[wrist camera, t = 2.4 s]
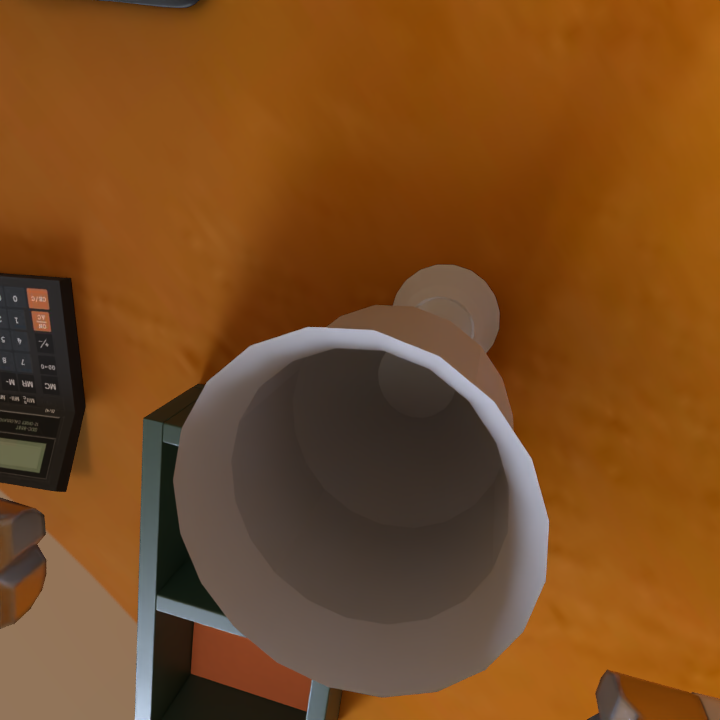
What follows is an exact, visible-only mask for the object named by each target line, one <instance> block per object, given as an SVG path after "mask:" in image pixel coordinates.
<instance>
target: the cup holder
mask: <svg viewBox="0 0 720 720" xmlns="http://www.w3.org/2000/svg"><path fill="white" fill-rule="evenodd" d="M204 387H205V385H201V384H197V385H196V386H194V387H192V388H190V389H189V390H187V391H186V392H184V393H182V394H181V395H179V396H178V397H176V398H175V399H173V400H171V401H170V402H168V403H167V404H165V405H163V406H162V407H160V408H159V409H157V410H156V411H154V412H152V413H151V414H149V415H148V416H146V417H144V419H143V452H142V487H141V522H140V558H139V593H138V629H137V663H136V665H137V667H136V698H135V720H337V719H338V714H339V708H340V702H341V696H342V690H341V689H336V688H331V687H327V686H325V685H323V684H320V683H318V682H316V681H314V680H312V679H310V678H308V677H306V676H304V675H302V674H300V673H298V672H296V671H294V670H292V669H289V668H287V667H285V666H283V665H281V664H279V663H277V662H276V661H275V660H273V659H272V658H271V657H270V656H269V655H267V654H266V653H265V652H264V651H263V650H261V649H260V648H259V647H258V646H256V645H255V644H254V643H253V642H252V641H250V640H249V639H248V638H247V637H246V636H244V635H243V634H242V633H241V632H240V631H238V630H237V629H236V628H235V627H234V626H233V625H232V624H231V622H230V621H229V620H228V618H227V617H226V615H225V614H224V613H223V611H222V610H221V609H220V607H219V606H218V605H217V603H216V602H215V601H214V599H213V598H212V597H211V595H210V594H209V593H208V591H207V590H206V589H205V587H204V586H203V585H202V583H201V581H200V579H199V577H198V574H197V572H196V570H195V567H194V565H193V562H192V560H191V558H190V555H189V553H188V551H187V548H186V546H185V543H184V541H183V539H182V536H181V534H180V528H179V521H178V514H177V506H176V499H175V492H174V484H173V478H174V471H175V465H176V459H177V453H178V447H179V441H180V435H181V429H182V427H183V425H184V423H185V421H186V419H187V418H188V416H189V414H190V412H191V410H192V408H193V407H194V405H195V403H196V401H197V399H198V398H199V396H200V394H201V392H202V390H203V388H204Z"/></svg>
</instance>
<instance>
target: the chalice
mask: <svg viewBox="0 0 720 720" xmlns="http://www.w3.org/2000/svg"><path fill="white" fill-rule="evenodd" d="M499 318H500V311H499V308H498V304H497V301H496V297H495V295H494V293H493V292H492V290H491V289H490V288H489V286H488V285H487V283H486V282H485V281H484V280H483V279H482V278H480V277H479V276H478V275H476V274H475V273H474V272H472V271H471V270H468V269H465V268H462V267H459V266H456V265H434V266H431V267H428V268H425V269H422V270H419V271H418V272H417V273H415V274H414V275H413V276H411V277H410V278H408V279H407V280H406V281H405V283H404V284H403V285H402V287H401V288H400V290H399V291H398V292H397V294H396V297H395V300H394V303H393V306H389V305H374V306H370V307H367V308H364V309H361V310H358V311H355V312H352V313H349V314H346V315H343V316H340V317H339V318H337V319H336V320H335V321H334V322H332V323H331V324H330V325H328V326H327V327H326V328H320V327H306V328H303V329H300V330H297V331H294V332H291V333H288V334H285V335H282V336H279V337H275V338H272V339H269V340H266V341H263V342H260V343H257V344H254V345H251V346H249V347H248V348H247V349H246V350H244V351H243V352H242V353H241V354H240V355H239V356H237V357H236V358H235V359H234V360H233V361H231V362H230V363H229V364H228V365H227V366H225V367H224V368H223V369H222V370H221V371H219V372H218V373H217V374H216V375H215V376H213V377H212V378H211V379H210V380H209V381H207V383H206V385H205V387H204V388H203V390H202V392H201V394H200V396H199V398H198V399H197V401H196V403H195V405H194V407H193V408H192V410H191V412H190V414H189V416H188V418H187V419H186V421H185V423H184V425H183V427H182V429H181V435H180V441H179V447H178V453H177V459H176V465H175V471H174V478H173V484H174V492H175V499H176V506H177V514H178V521H179V528H180V534H181V536H182V539H183V541H184V543H185V546H186V548H187V551H188V553H189V555H190V558H191V560H192V562H193V565H194V567H195V570H196V572H197V574H198V577H199V579H200V581H201V583H202V585H203V586H204V587H205V589H206V590H207V591H208V593H209V594H210V595H211V597H212V598H213V599H214V601H215V602H216V603H217V605H218V606H219V607H220V609H221V610H222V611H223V613H224V614H225V615H226V617H227V618H228V620H229V621H230V622H231V624H232V625H233V626H234V627H235V628H236V629H237V630H238V631H240V632H241V633H242V634H243V635H244V636H246V637H247V638H248V639H249V640H250V641H252V642H253V643H254V644H255V645H256V646H258V647H259V648H260V649H261V650H263V651H264V652H265V653H266V654H267V655H269V656H270V657H271V658H272V659H273V660H275V661H276V662H277V663H279V664H281V665H283V666H285V667H287V668H289V669H292V670H294V671H296V672H298V673H300V674H302V675H304V676H306V677H308V678H310V679H312V680H314V681H316V682H318V683H320V684H323V685H325V686H327V687H331V688H336V689H341V690H346V691H352V692H357V693H362V694H367V695H372V696H378V697H391V696H401V695H411V694H421V693H430V692H437V691H440V690H442V689H444V688H446V687H448V686H451V685H453V684H455V683H457V682H459V681H462V680H464V679H466V678H468V677H470V676H472V675H475V674H477V673H479V672H481V671H483V670H485V669H486V668H487V667H488V666H489V665H490V664H491V663H492V662H493V661H494V660H495V659H496V658H497V657H498V656H499V655H500V654H501V653H502V652H503V651H504V650H505V649H506V648H507V647H508V646H509V645H510V644H511V643H512V642H513V641H514V640H515V639H516V638H517V637H518V636H519V635H520V634H521V633H522V632H523V631H524V629H525V626H526V624H527V622H528V620H529V617H530V615H531V613H532V610H533V608H534V606H535V604H536V601H537V599H538V597H539V595H540V592H541V590H542V588H543V585H544V583H545V581H546V565H547V548H548V531H549V519H548V516H547V512H546V508H545V505H544V501H543V498H542V494H541V490H540V487H539V483H538V480H537V476H536V472H535V469H534V465H533V462H532V459H531V457H530V456H529V454H528V453H527V451H526V449H525V448H524V446H523V445H522V443H521V442H520V440H519V439H518V437H517V436H516V434H515V433H514V431H513V414H512V411H511V407H510V404H509V400H508V397H507V393H506V389H505V386H504V382H503V379H502V377H501V376H500V374H499V373H498V371H497V370H496V368H495V367H494V365H493V364H492V362H491V360H490V359H489V357H488V356H487V354H486V353H487V351H488V350H489V349H490V348H491V347H492V345H493V343H494V341H495V338H496V336H497V333H498V330H499Z"/></svg>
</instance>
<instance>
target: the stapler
mask: <svg viewBox="0 0 720 720" xmlns="http://www.w3.org/2000/svg"><path fill="white" fill-rule="evenodd" d="M101 1H114V2H125V3H134V4H142V5H151V6H160V7H174V8H186V7H190V6H192V5H194V4H195V3H197V2H198V1H199V0H101Z"/></svg>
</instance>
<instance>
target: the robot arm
mask: <svg viewBox="0 0 720 720" xmlns="http://www.w3.org/2000/svg"><path fill="white" fill-rule="evenodd" d="M45 534H46V532H45V519H44V515H43V514H42V513H41V512H39V511H38V510H37V509H35V508H32V507H29V506H26V505H22V504H19V503H16V502H13V501H9V500H6V499H3V498H0V629H1V628H4V627H6V626H9V625H12V624H14V623H16V622H17V621H18V620H19V619H20V618H21V617H22V616H23V615H24V614H25V613H26V612H27V611H29V610H30V609H31V607H32V605H33V604H34V602H35V600H36V599H37V597H38V596H39V594H40V592H41V591H42V588H43V584H44V581H45V577H46V559H45V557H44V555H43V554H42V552H41V550H40V548H39V547H38V545H37V544H38V543H39V542H40V540H41V539H42V538H43V537H44V536H45ZM595 694H596V699H597V704H598V709H599V713H598V714H596V715H594V716H593V717H591V718H589V719H587V720H720V699H718V698H714V697H710V696H706V695H702V694H698V693H694V692H692V693H689V692H687V691H683V690H680V689H676V688H672V687H669V686H665V685H661V684H658V683H654V682H650V681H647V680H643V679H640V678H636V677H632V676H629V675H625V674H621V673H618V672H614V671H610V670H607V671H606V672H605V673H604V675H603V676H602V677H601V679H600V682H599V685H598V688H597V690H596V693H595Z"/></svg>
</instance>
